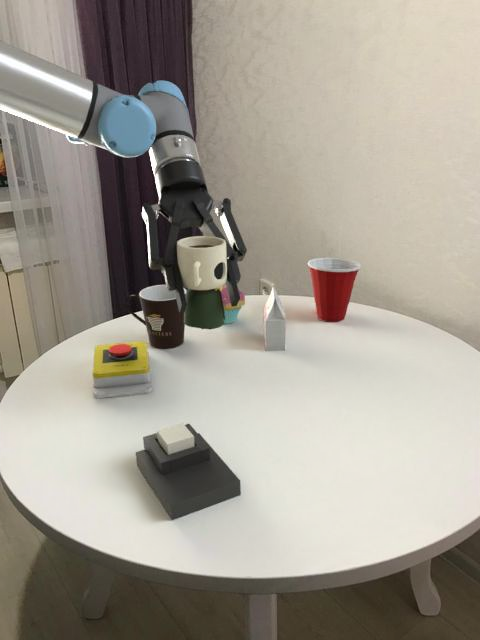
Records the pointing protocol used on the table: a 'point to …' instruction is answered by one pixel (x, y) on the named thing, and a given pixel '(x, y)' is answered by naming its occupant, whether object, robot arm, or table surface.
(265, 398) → the table surface
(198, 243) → the character mug
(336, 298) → the plastic cup
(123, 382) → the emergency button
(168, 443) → the small white rectangular block
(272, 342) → the small milk carton
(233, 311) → the cupcake
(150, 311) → the coffee mug
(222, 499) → the button base
